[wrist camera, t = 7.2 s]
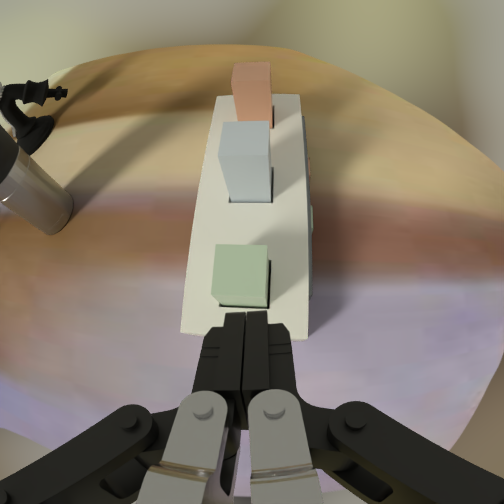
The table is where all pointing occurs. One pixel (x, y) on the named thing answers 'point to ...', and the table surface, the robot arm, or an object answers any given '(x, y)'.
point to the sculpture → (25, 128)
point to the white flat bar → (255, 225)
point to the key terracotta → (253, 91)
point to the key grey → (246, 161)
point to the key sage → (241, 276)
